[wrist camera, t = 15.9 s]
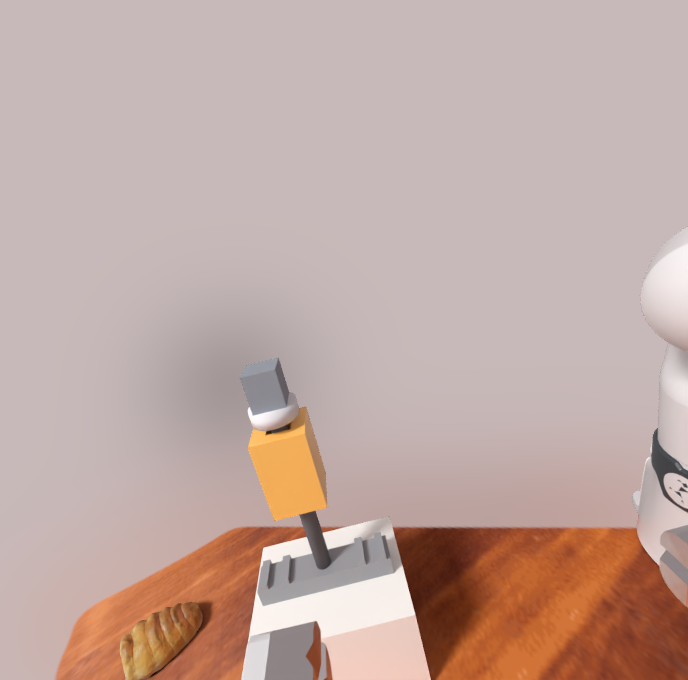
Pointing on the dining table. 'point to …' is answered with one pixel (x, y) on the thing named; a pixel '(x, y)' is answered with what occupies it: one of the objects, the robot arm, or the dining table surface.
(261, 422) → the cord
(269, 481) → the sleeve
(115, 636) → the dining table surface
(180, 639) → the pastry
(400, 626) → the comb base
